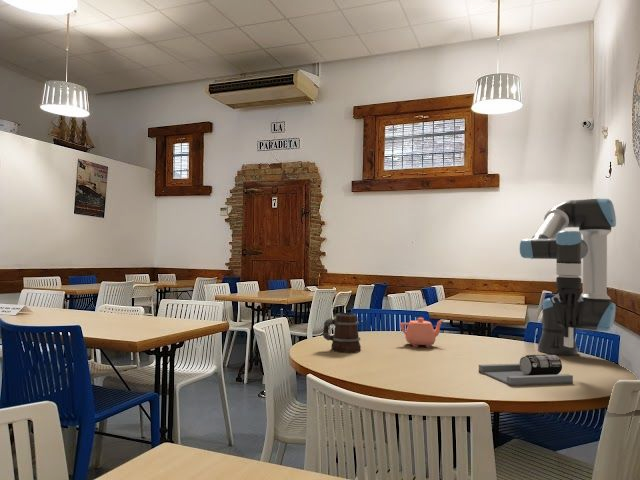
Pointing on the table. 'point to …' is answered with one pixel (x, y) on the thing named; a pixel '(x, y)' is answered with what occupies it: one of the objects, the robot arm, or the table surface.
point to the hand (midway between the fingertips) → (568, 346)
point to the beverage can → (540, 365)
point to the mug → (343, 333)
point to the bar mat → (521, 375)
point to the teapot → (420, 332)
